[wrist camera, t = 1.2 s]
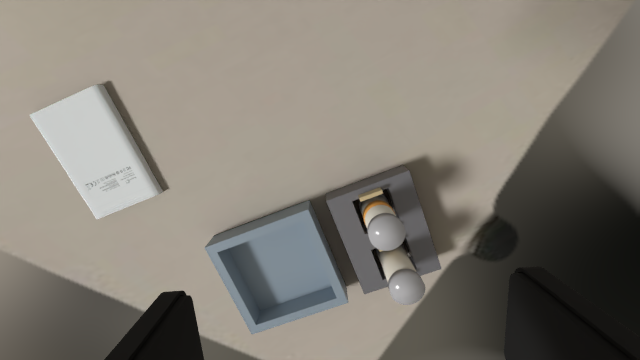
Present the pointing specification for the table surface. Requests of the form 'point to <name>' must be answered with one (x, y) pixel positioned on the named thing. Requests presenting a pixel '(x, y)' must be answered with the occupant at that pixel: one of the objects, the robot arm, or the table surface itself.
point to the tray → (278, 268)
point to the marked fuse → (382, 223)
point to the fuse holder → (356, 233)
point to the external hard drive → (97, 151)
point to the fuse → (401, 276)
